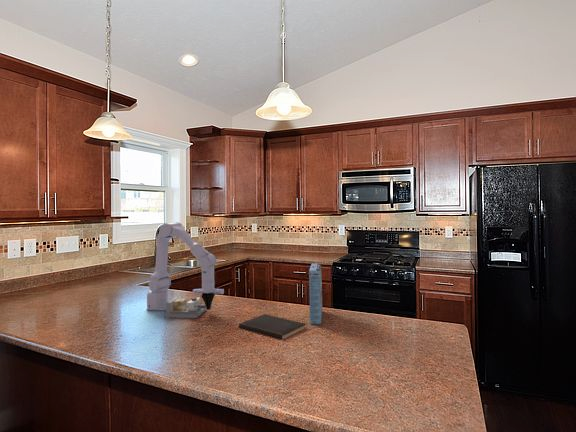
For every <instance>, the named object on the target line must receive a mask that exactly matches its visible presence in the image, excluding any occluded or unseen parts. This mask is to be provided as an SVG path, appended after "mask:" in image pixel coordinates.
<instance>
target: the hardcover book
mask: <svg viewBox="0 0 576 432" xmlns="http://www.w3.org/2000/svg"><path fill="white" fill-rule="evenodd" d="M306 325H307V323H303V322H300V321H295V320H291V319H287V318H284V317H283V318H282V317H278V316H274V315H269V314H266V313H264V314H260V315H258V316H256V317H253V318H249V319H248V320H244V321H242V322H239V323H238V328H239V329H242V330H245V331H249V332H252V333H255V334H256V333H257V334H258V335H259V334H260V335H263V336H266V337H270V338H273V339H277V340H281V341H282V340H284V339H286V338H288V337H290V336H292V335H294V334H296V333H298V332H300V331H302V330H305V329H306Z"/></svg>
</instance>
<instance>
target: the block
mask: <svg viewBox="0 0 576 432" xmlns="http://www.w3.org/2000/svg"><path fill="white" fill-rule="evenodd" d="M187 302H188V301H187V298H179V299H177V300H175V301H174V311H185V310H186V309H187Z"/></svg>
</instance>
